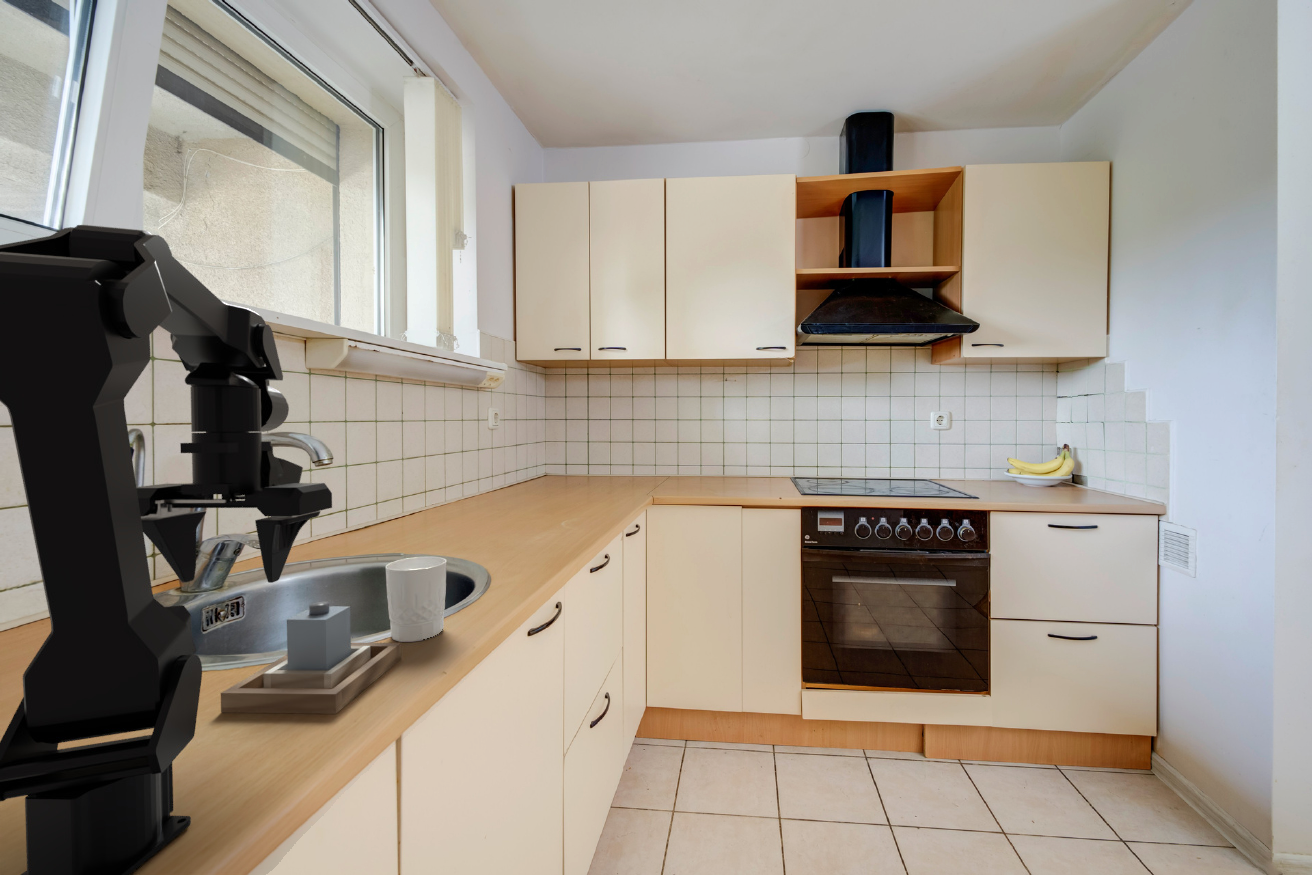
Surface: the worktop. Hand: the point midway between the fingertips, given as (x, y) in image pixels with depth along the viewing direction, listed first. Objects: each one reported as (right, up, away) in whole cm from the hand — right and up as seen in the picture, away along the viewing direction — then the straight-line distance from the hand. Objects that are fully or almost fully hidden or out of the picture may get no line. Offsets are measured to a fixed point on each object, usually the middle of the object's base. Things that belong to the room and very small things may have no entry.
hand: (230, 581), depth 56 cm
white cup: (+11, -13, +20) cm, 26 cm away
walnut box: (+6, -13, +5) cm, 15 cm away
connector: (+5, -12, +6) cm, 15 cm away
